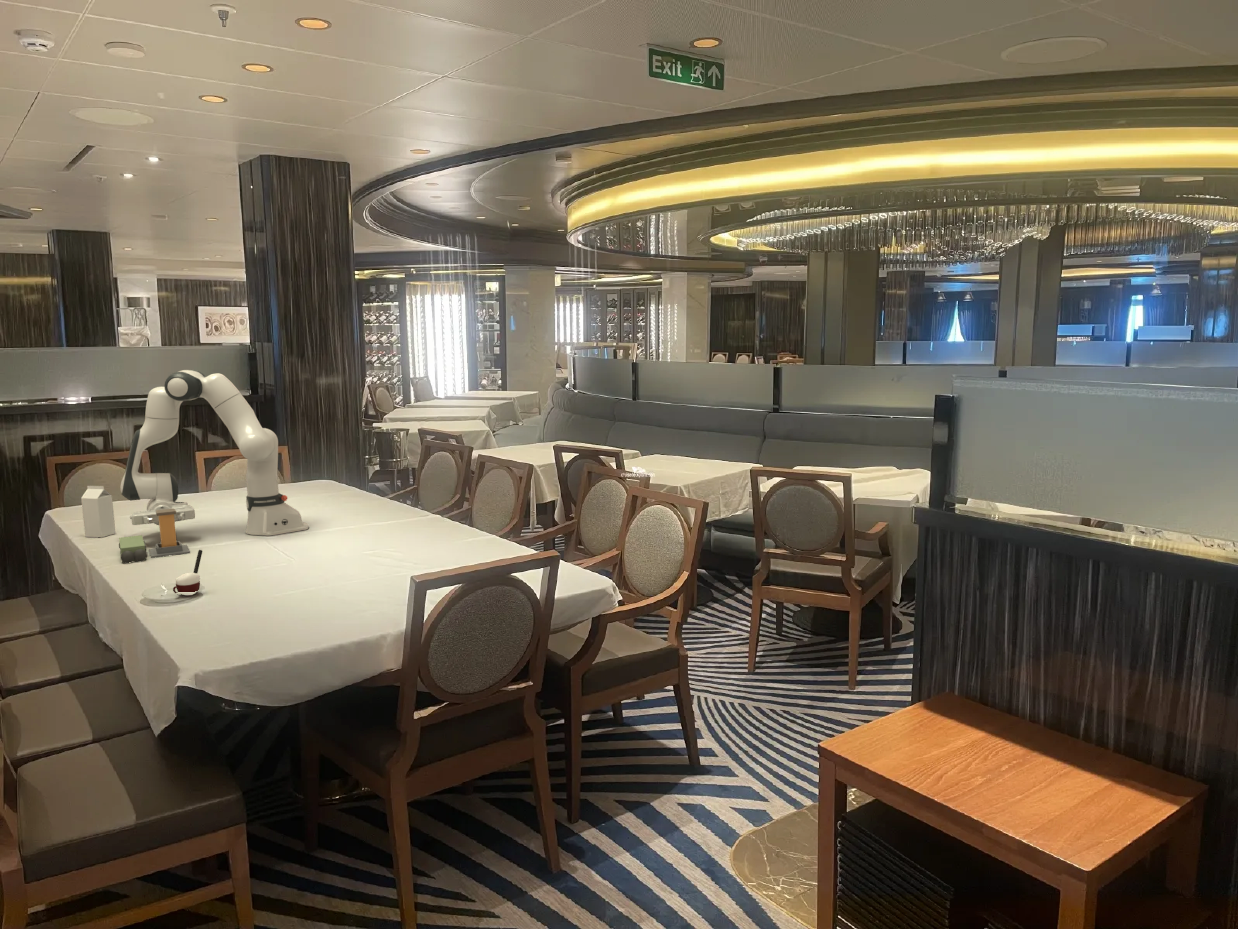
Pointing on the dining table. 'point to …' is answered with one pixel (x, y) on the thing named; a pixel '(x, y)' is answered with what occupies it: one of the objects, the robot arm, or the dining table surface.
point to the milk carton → (98, 512)
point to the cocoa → (189, 579)
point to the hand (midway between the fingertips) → (165, 519)
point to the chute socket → (169, 550)
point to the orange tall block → (167, 527)
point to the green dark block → (132, 549)
